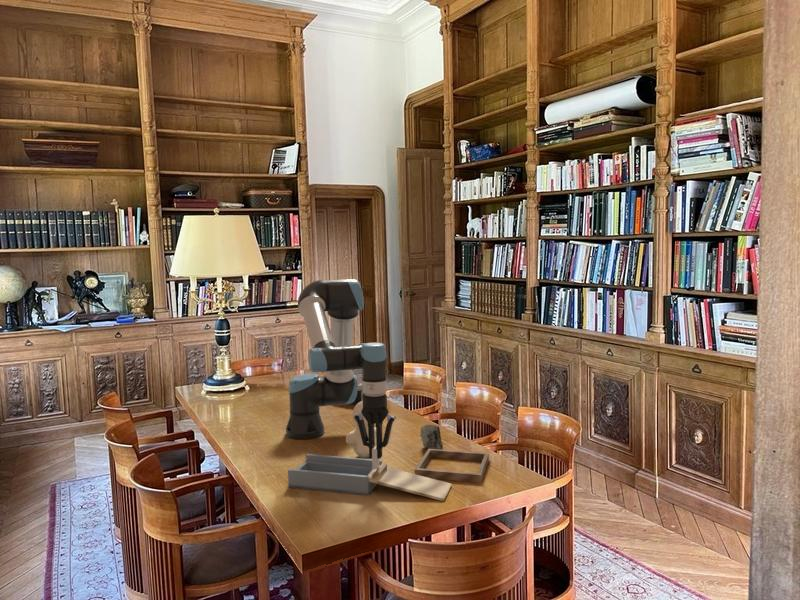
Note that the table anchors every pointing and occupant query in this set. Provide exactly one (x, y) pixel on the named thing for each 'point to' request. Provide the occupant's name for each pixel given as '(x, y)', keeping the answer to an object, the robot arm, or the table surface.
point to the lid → (409, 482)
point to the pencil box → (333, 474)
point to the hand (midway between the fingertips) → (375, 467)
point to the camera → (358, 395)
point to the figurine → (355, 435)
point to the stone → (431, 437)
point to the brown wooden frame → (453, 474)
